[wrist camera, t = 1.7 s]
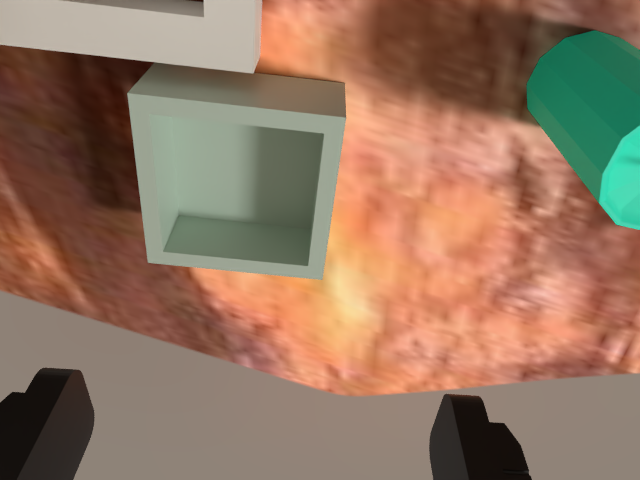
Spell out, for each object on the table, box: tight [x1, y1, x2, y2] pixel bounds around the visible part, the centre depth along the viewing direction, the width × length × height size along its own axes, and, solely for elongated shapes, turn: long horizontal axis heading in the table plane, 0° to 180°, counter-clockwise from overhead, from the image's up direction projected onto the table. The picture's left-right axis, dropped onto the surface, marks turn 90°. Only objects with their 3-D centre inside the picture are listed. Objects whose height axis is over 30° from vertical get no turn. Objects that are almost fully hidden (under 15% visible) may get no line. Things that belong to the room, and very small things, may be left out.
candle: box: [527, 30, 640, 230], centre depth 25 cm, size 6×6×12 cm
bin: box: [127, 62, 346, 280], centre depth 31 cm, size 11×11×5 cm
